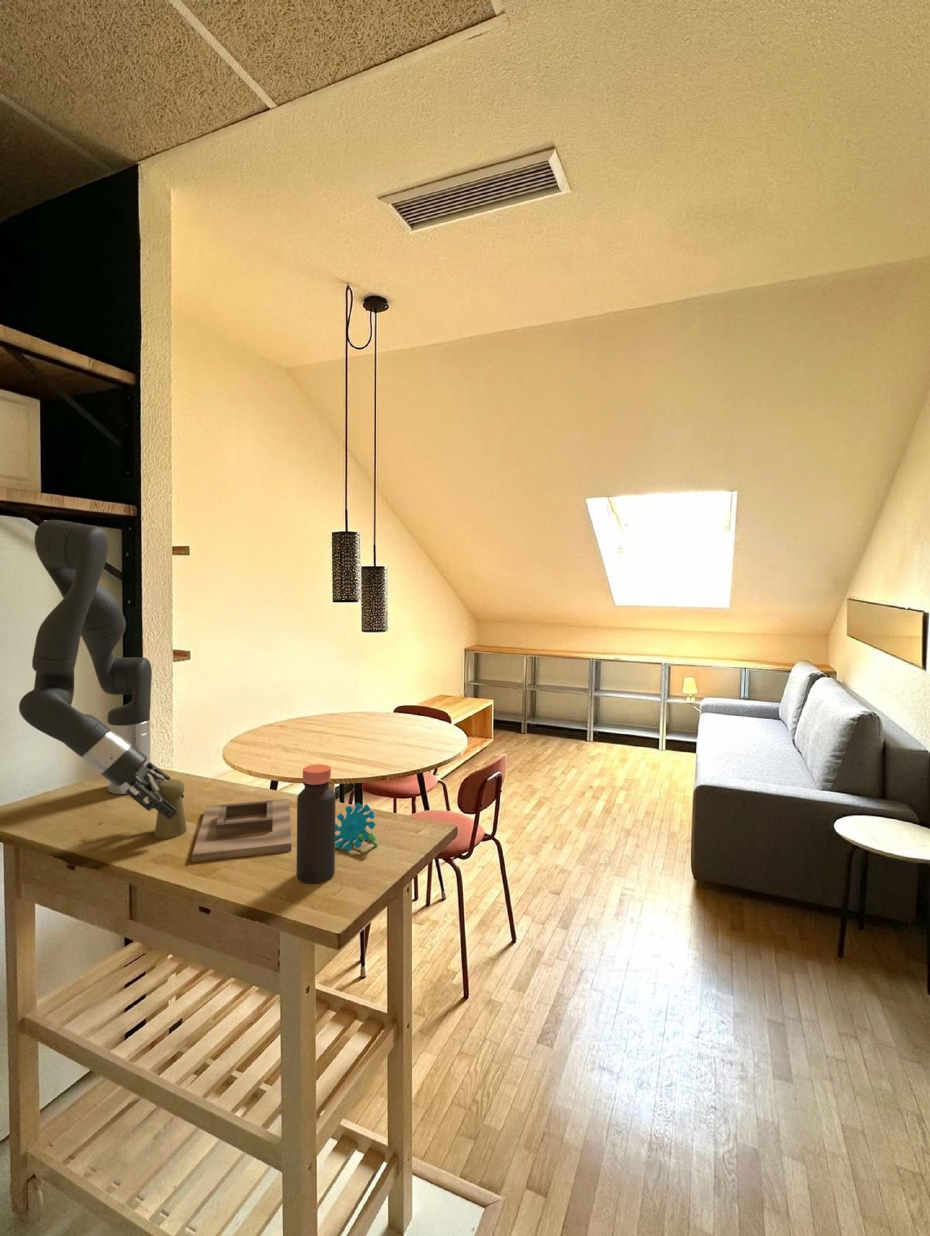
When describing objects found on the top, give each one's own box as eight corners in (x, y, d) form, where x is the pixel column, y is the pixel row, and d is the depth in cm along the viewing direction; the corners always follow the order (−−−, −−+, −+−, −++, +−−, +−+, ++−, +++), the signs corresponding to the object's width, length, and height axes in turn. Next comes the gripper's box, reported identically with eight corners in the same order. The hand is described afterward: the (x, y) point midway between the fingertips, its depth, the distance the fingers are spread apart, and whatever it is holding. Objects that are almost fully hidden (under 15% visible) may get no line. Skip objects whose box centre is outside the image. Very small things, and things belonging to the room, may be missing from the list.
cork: (175, 823, 124) (175, 774, 124) (192, 830, 121) (192, 780, 121) (148, 833, 119) (148, 782, 119) (165, 841, 116) (165, 788, 116)
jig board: (206, 812, 131) (206, 795, 130) (288, 804, 136) (288, 788, 136) (192, 862, 108) (192, 841, 108) (291, 850, 114) (291, 831, 114)
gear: (320, 834, 118) (352, 793, 122) (335, 846, 121) (365, 806, 125) (352, 860, 110) (384, 816, 114) (367, 872, 114) (398, 829, 118)
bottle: (290, 872, 105) (291, 766, 104) (325, 862, 109) (326, 760, 108) (305, 889, 100) (306, 777, 99) (340, 877, 104) (342, 770, 103)
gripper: (120, 754, 110) (186, 806, 114) (137, 735, 123) (195, 782, 128) (89, 783, 109) (157, 835, 113) (109, 761, 122) (169, 807, 126)
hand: (177, 807), depth 120 cm, fingers open, 8 cm apart
